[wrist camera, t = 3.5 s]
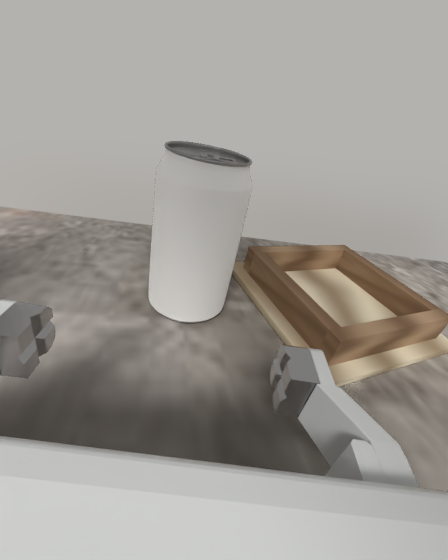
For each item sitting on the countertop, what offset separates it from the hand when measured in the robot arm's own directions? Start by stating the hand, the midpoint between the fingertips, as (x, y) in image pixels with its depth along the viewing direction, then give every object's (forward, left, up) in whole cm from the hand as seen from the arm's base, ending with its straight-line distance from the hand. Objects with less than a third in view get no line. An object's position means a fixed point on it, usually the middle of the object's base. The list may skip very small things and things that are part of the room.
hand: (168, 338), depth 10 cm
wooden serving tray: (+19, +8, -7) cm, 22 cm away
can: (+5, +11, -8) cm, 14 cm away
